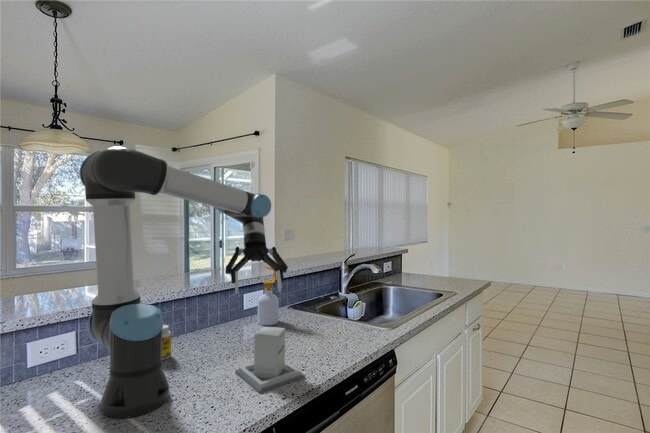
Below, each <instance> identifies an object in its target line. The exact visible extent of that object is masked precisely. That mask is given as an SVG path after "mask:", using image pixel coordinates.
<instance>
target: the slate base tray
mask: <svg viewBox="0 0 650 433" xmlns="http://www.w3.org/2000/svg"><path fill="white" fill-rule="evenodd" d="M234 373H235V374H236V375H237V376H238V377H239V378H241V379H242V380H243V381H244V383H247V384H248V385H249V386H250V387H252V389H253V390H254V391H255V392H257V393H258V394H262V393H264V392H267V391H271V390H273V389H275V388H279V387H281V386H284V385H287V384H290V383H293V382H295V381H296V382H297V380H300V379H304V378H305V376H306V374H304V373H303V372H302V370H300V369H299V368H297V367H295V366H294V365H293V364H291V363H289V362H288V361H286V360H285V368H284V370H283V371H282V372H281V374H280V375H279V376H278V377H275V378H272V379H269V378H260V377H256V376H255V375H254V362H252V363H248V364H247V363H246V364H244V365H241V366H238V369H237V370H235V371H234Z"/></svg>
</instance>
